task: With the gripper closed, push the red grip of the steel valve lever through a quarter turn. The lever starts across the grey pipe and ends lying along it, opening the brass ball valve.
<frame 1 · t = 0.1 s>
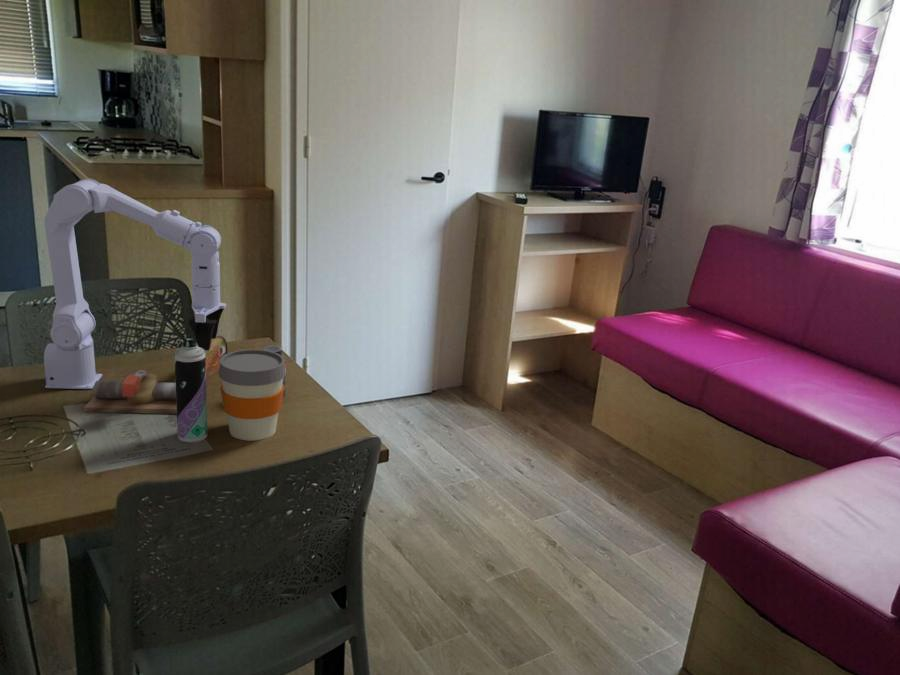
hand: (207, 343, 167), 10 cm above the table, fingers open, 7 cm apart
valve stand: (142, 402, 160), on the table
tin: (206, 374, 177), on the table
reusable coffee cup: (252, 431, 152), on the table
spray can: (192, 437, 148), on the table
valve lever: (135, 380, 154), point 7 cm above the table, hinge at 0.0°
supplement bottle: (271, 397, 168), on the table
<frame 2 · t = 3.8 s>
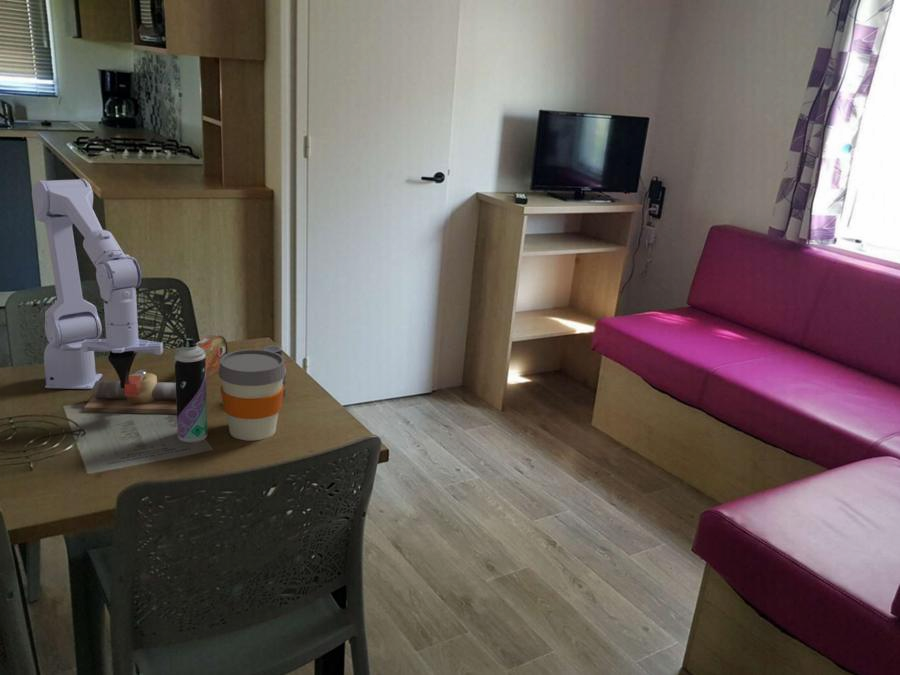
hand: (125, 386, 150), 7 cm above the table, fingers closed, pressing on valve lever
valve lever: (136, 380, 154), point 7 cm above the table, hinge at 3.1°, touching gripper
everything else where it was.
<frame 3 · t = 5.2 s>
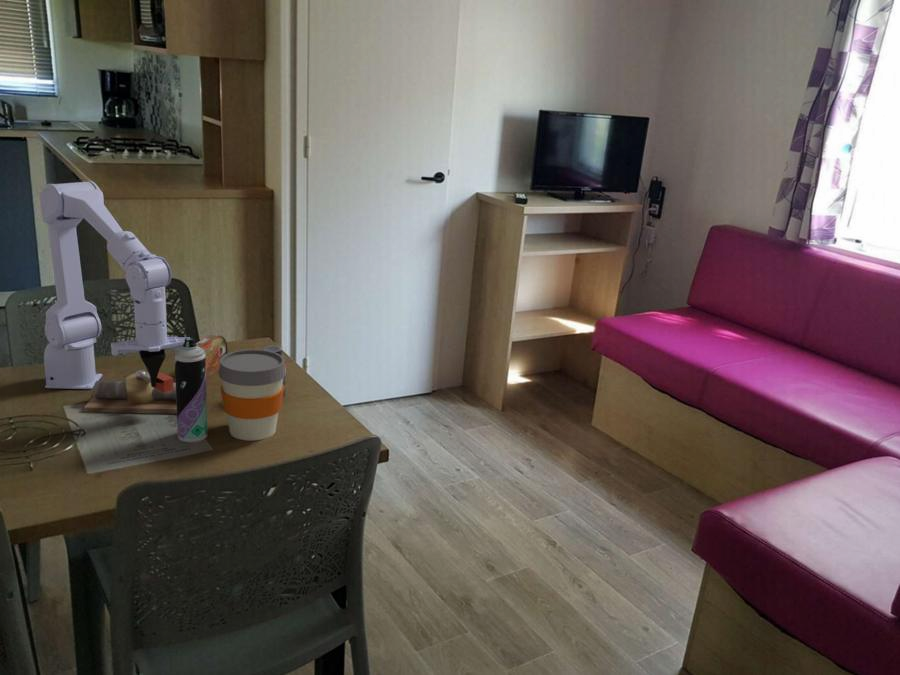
hand: (153, 385, 152), 7 cm above the table, fingers closed, pressing on valve lever
valve lever: (153, 378, 155), point 7 cm above the table, hinge at 47.2°, touching gripper
everything else where it was.
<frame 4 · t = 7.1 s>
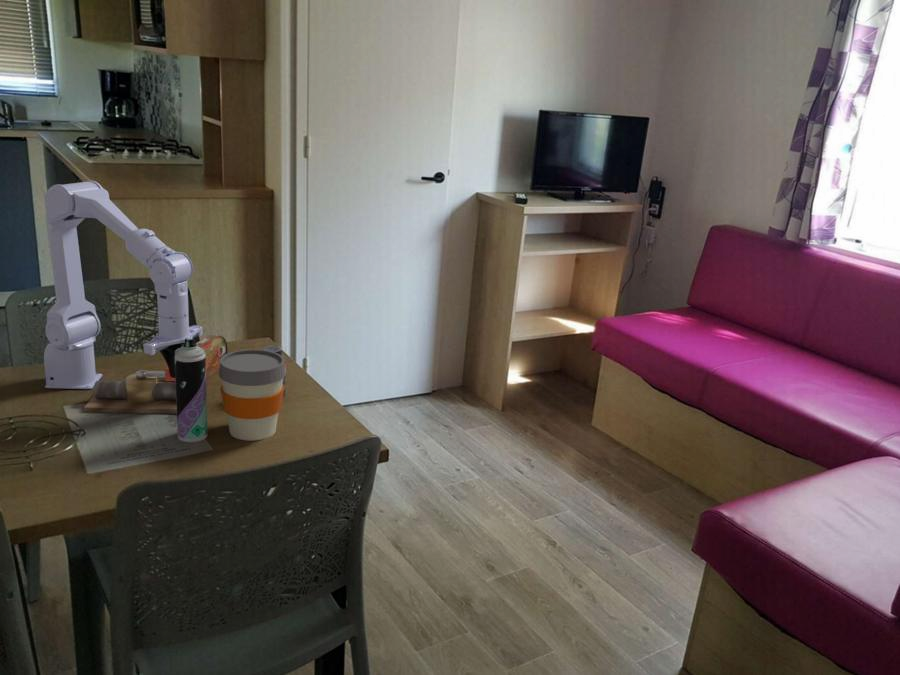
hand: (175, 377, 157), 7 cm above the table, fingers closed
valve lever: (162, 372, 158), point 7 cm above the table, hinge at 89.9°, touching gripper
everything else where it was.
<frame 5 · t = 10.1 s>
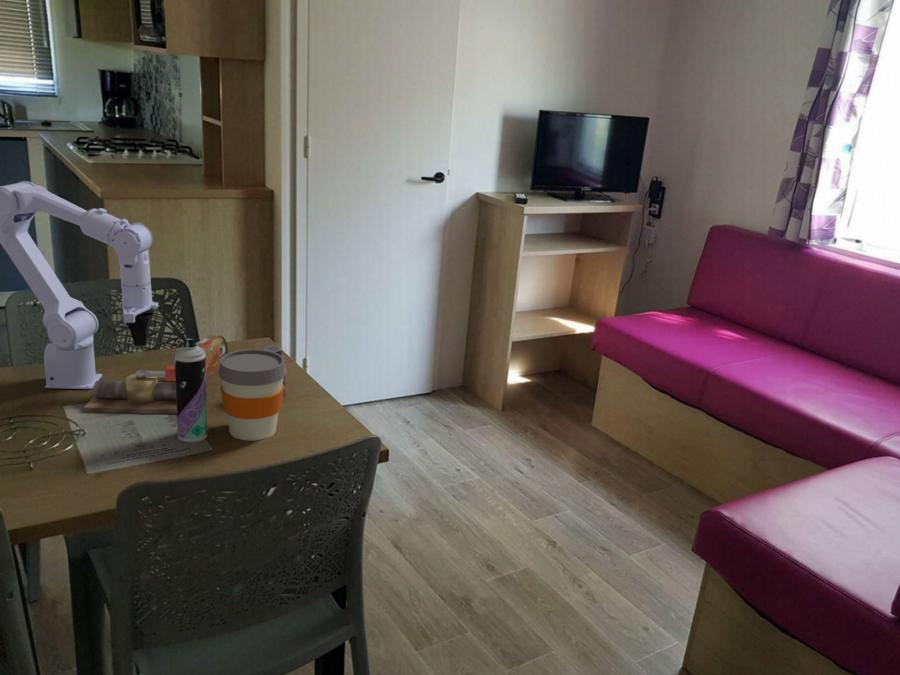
hand: (140, 344, 163), 10 cm above the table, fingers closed
valve lever: (162, 372, 158), point 7 cm above the table, hinge at 90.0°
everything else where it was.
at the end: valve lever at +90° (first picture: +0°) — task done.
